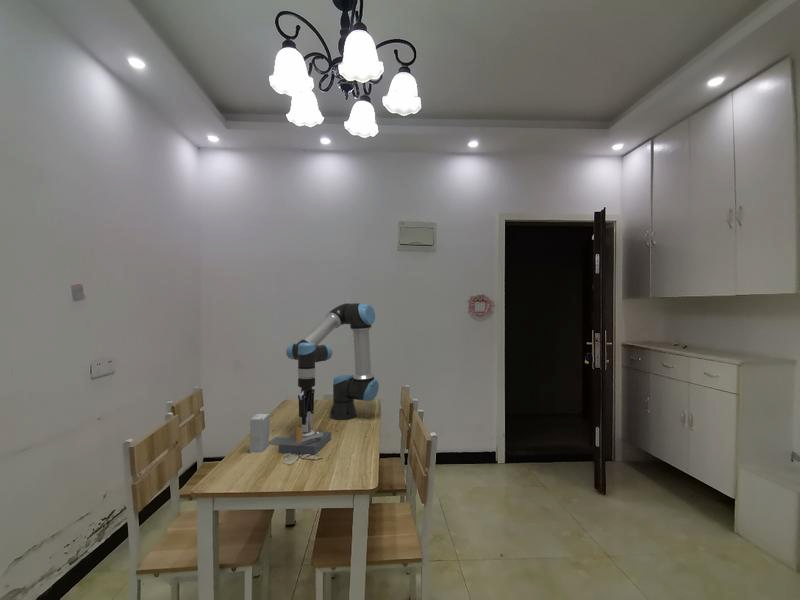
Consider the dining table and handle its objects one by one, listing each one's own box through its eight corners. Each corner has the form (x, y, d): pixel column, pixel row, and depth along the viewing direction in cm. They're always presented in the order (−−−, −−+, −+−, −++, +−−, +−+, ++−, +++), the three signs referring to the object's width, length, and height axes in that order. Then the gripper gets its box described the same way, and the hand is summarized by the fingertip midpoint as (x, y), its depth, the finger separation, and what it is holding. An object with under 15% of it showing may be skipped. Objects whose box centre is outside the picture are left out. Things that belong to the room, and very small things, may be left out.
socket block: (298, 438, 188) (298, 426, 188) (330, 440, 185) (331, 427, 185) (279, 454, 168) (279, 440, 168) (314, 456, 166) (314, 442, 166)
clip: (291, 440, 168) (291, 425, 168) (318, 432, 178) (318, 419, 178) (298, 442, 165) (298, 428, 165) (325, 435, 175) (325, 421, 175)
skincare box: (256, 446, 177) (256, 413, 178) (269, 446, 177) (270, 413, 177) (249, 453, 169) (249, 418, 169) (263, 453, 169) (263, 418, 169)
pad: (276, 438, 189) (276, 436, 189) (295, 439, 187) (295, 437, 187) (265, 445, 179) (265, 443, 179) (286, 446, 177) (286, 445, 177)
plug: (302, 440, 181) (302, 409, 181) (316, 441, 180) (316, 410, 180) (296, 445, 174) (296, 413, 175) (310, 446, 173) (310, 414, 173)
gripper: (306, 374, 186) (306, 424, 186) (290, 380, 170) (290, 435, 170) (321, 374, 185) (321, 424, 185) (307, 381, 169) (307, 436, 168)
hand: (306, 429), depth 177 cm, fingers closed on plug, 3 cm apart
